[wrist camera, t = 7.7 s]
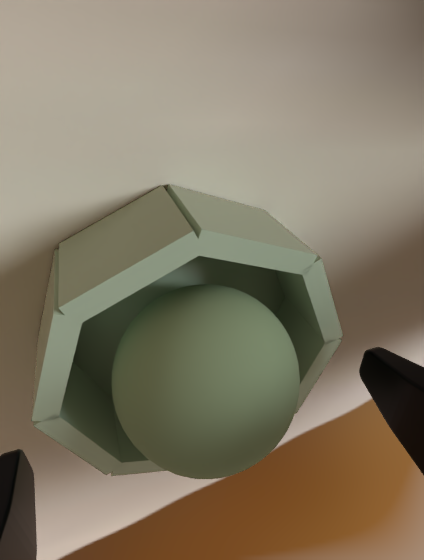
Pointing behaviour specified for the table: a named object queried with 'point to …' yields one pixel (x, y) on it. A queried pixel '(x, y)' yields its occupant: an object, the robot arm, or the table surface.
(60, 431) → the green cup
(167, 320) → the ball
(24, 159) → the table surface
